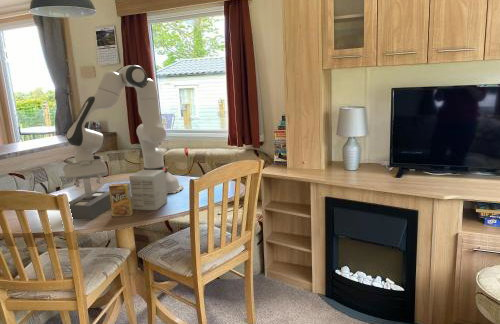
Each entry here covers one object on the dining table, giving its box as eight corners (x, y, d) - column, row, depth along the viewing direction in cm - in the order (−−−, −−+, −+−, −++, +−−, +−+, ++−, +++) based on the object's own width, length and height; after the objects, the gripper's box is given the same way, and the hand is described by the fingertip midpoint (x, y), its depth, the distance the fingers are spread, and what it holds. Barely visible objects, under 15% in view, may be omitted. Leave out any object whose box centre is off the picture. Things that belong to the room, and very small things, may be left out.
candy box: (112, 217, 183) (108, 186, 180) (115, 213, 187) (111, 183, 184) (130, 216, 183) (127, 185, 180) (133, 213, 187) (129, 182, 184)
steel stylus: (92, 200, 193) (89, 177, 190) (93, 202, 190) (89, 178, 188) (86, 201, 192) (83, 178, 189) (86, 203, 189) (83, 179, 187)
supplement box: (144, 201, 205) (141, 169, 201) (167, 201, 202) (164, 169, 198) (132, 209, 193) (128, 175, 189) (156, 210, 190) (153, 176, 186)
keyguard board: (115, 204, 202) (113, 191, 200) (91, 219, 181) (89, 205, 179) (90, 204, 204) (89, 191, 202) (64, 219, 183) (62, 205, 181)
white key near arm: (105, 198, 200) (104, 193, 200) (99, 202, 195) (99, 196, 195) (96, 198, 201) (95, 193, 201) (90, 201, 196) (89, 196, 196)
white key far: (90, 207, 187) (89, 201, 186) (84, 211, 182) (83, 205, 181) (80, 207, 188) (79, 201, 187) (74, 211, 183) (73, 205, 182)
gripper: (61, 161, 191) (64, 184, 185) (105, 155, 199) (109, 178, 193) (63, 168, 196) (66, 191, 190) (105, 162, 204) (109, 184, 198)
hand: (88, 184), depth 191 cm, fingers open, 8 cm apart
